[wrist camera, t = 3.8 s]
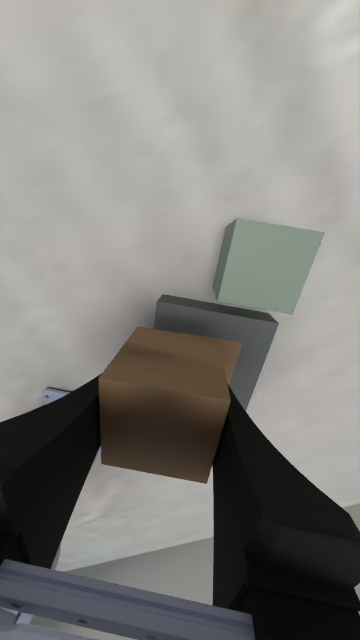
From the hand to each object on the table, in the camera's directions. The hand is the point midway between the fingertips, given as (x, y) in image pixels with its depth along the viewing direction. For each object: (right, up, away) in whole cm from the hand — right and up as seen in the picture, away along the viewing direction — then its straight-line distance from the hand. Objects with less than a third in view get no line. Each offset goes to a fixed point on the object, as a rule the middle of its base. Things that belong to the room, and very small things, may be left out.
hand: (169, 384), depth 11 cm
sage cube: (+6, +9, +5) cm, 12 cm away
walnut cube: (0, +1, +1) cm, 2 cm away
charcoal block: (+3, +1, +9) cm, 9 cm away
